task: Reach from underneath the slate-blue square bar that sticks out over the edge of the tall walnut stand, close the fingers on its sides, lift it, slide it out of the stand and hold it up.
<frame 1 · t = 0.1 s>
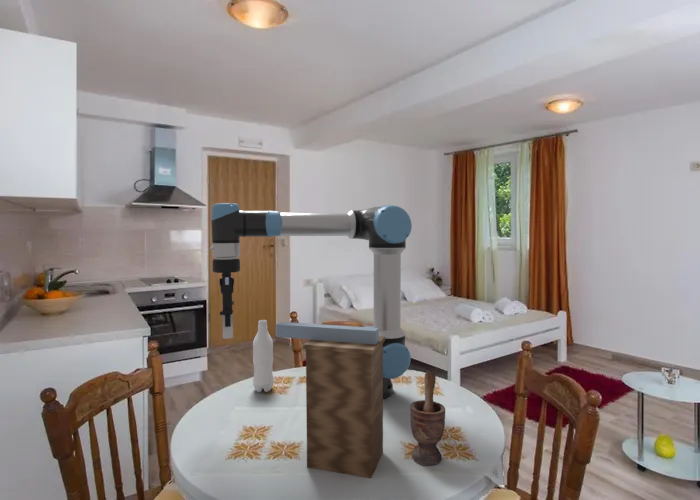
hand: (227, 332, 122), 28 cm above the table, tool pointing down, fingers open, 13 cm apart
stand: (346, 459, 107), on the table
mortar and pestle: (425, 455, 109), on the table
bar: (326, 338, 107), point 30 cm above the table, touching stand
water bottle: (263, 390, 154), on the table
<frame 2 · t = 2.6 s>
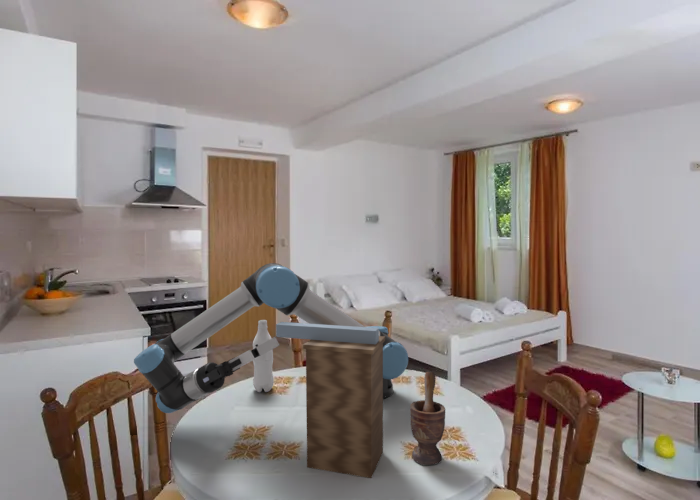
hand: (265, 347, 112), 27 cm above the table, tool pointing upward, fingers open, 13 cm apart
nothing on the table moved.
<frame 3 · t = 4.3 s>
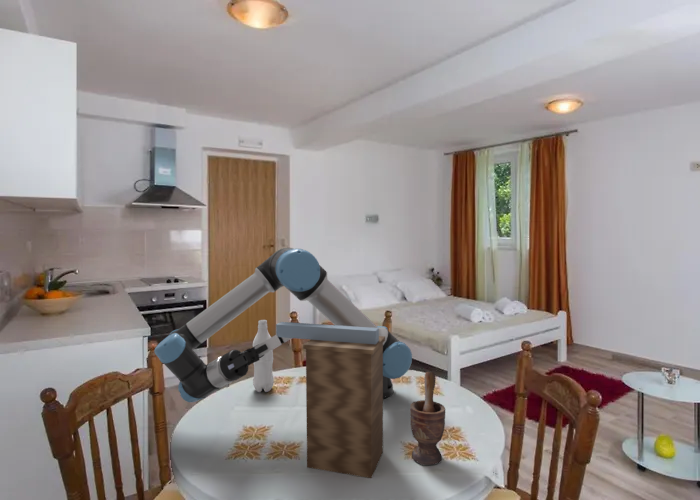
hand: (290, 333, 109), 31 cm above the table, tool pointing upward, fingers open, 13 cm apart
nothing on the table moved.
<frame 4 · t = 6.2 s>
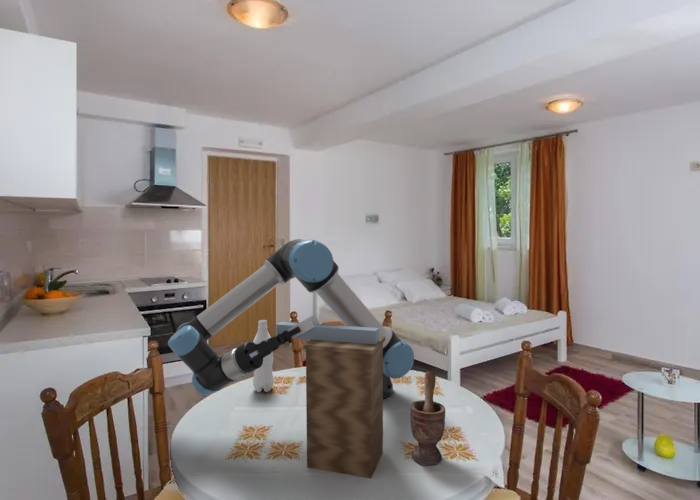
hand: (314, 320, 108), 34 cm above the table, tool pointing upward, fingers closed on bar, 3 cm apart
bar: (326, 338, 107), point 30 cm above the table, touching gripper, stand
everything else where it was.
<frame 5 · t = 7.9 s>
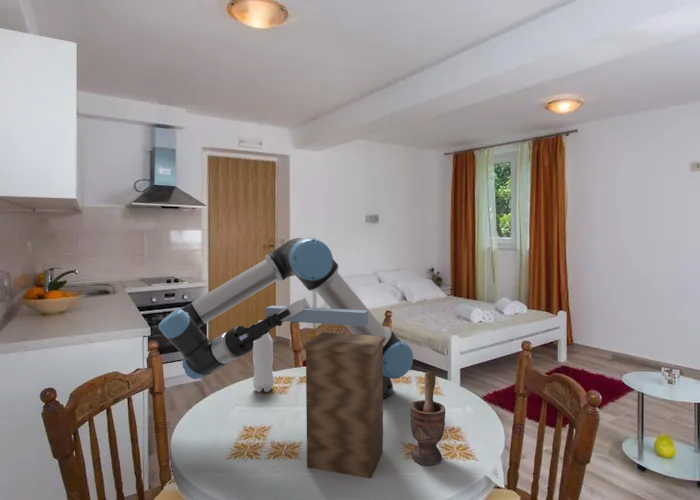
hand: (303, 303, 108), 39 cm above the table, tool pointing upward, fingers closed on bar, 3 cm apart
bar: (316, 321, 107), point 34 cm above the table, touching gripper
everything else where it was.
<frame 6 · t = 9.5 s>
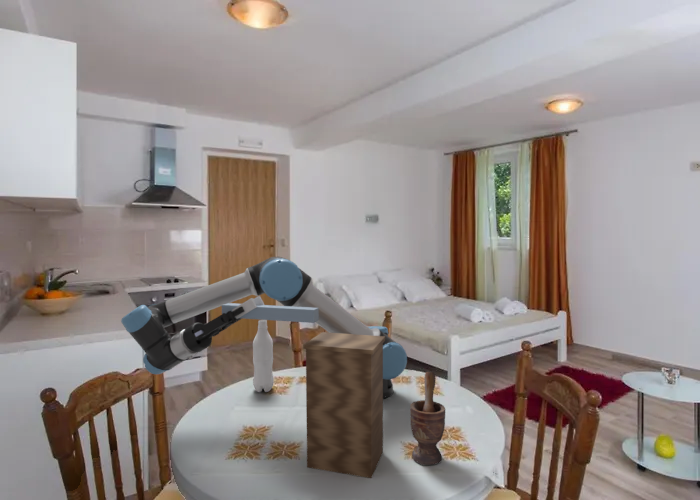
hand: (257, 301, 112), 39 cm above the table, tool pointing upward, fingers closed on bar, 3 cm apart
bar: (269, 318, 111), point 34 cm above the table, touching gripper
everything else where it was.
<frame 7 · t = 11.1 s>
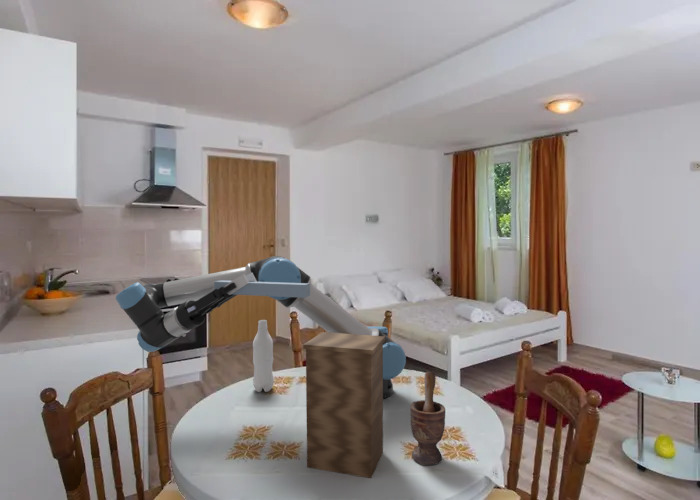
hand: (249, 277, 112), 45 cm above the table, tool pointing upward, fingers closed on bar, 3 cm apart
bar: (261, 294, 112), point 40 cm above the table, touching gripper
everything else where it was.
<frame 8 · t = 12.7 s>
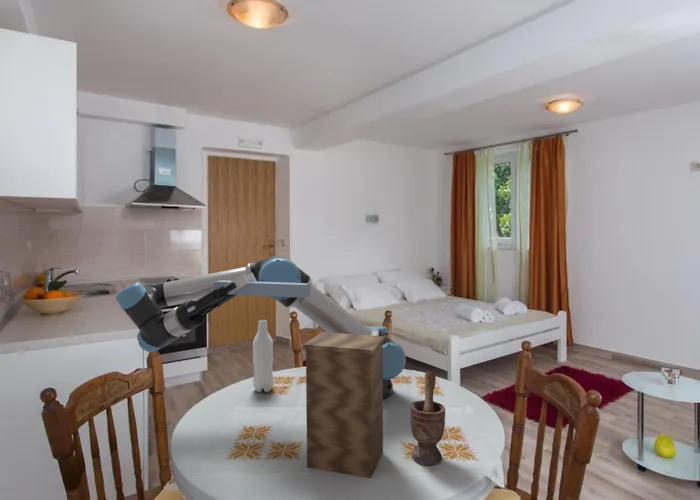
hand: (250, 277, 112), 45 cm above the table, tool pointing upward, fingers closed on bar, 3 cm apart
bar: (261, 294, 112), point 40 cm above the table, touching gripper
everything else where it was.
at the end: the gripper is holding bar; bar point 40.3 cm above the table; bar moved 20.7 cm from its start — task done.
